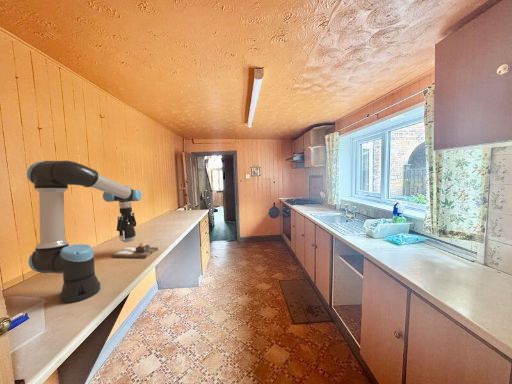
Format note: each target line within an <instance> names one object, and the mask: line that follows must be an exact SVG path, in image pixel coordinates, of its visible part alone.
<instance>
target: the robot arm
mask: <svg viewBox="0 0 512 384" xmlns="http://www.w3.org/2000/svg"><path fill="white" fill-rule="evenodd" d="M26 176H27V179H28V180H29V181H30V183H31V184H33V186H34V190H35V191H37V192H38V195H39V196H38V198H39V200H38V201H39V203H38V204H39V205H38V206H39V243H38V244H37V245H36V246H35V250H34V251H32V252H31V254H30V255H29V258H28V266H29V267H30V269H31V270H32V271H34V272H37V273H41V274H61V275H62V278H63V279H62V280H63V283H62V288H61V291H60V294H59V301H60V302H61V303H64V304H70V303H77V302H80V301H83V300H87V299H88V298H91V297H94V296H95V295H96V294H98V293H99V292H100V290H101V283H100V281H99V279H98V277H97V275H96V272H95V268H96V267H95V253H94V249H93V247H92V246H91V245H89V244H85V243H78V244H71V245H70V244H69V241H67V240H66V239H65V192H66V191H67V190H69V186H71V185H72V186H80V187H84V188H93V189H95V190H99V191H101V192H103V194H102V199H103V200H104V201H105V202H107V203H113V202H118V207H119V214H121V215H120V216H117V225H116V231H117V232H119V233H118V235H119V234H120V238H119V239H120V241H121V240H125V237H124V231H123V229H124V226H125V222H126V221H130V222H134V223H133V224H132V225H133V227H134V229H136V226H137V221H136V218H135V212H133V207H132V202H139V201H141V200H142V197H143V196H142V195H143V193H142V191H141V190H140V189H132V188H131V186H130V185H123V184H122V183H119V182H116V181H114V180H112V179H110V178H108V177H105V176H104V175H101V174H99V172H98V171H97V170H95V169H93V168H91V167H88V166H86V165H84V164H81V163H78V162H75V161H72V160H44V161H37V162H34V163H32V164H31V165H30V166H29V167H28V169H27V171H26Z"/></svg>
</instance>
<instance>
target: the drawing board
mask: <svg viewBox="0 0 512 384" xmlns="http://www.w3.org/2000/svg"><path fill="white" fill-rule="evenodd" d="M157 250H158V251H159V247H158V246H155V247H154V246H153V247H152V246H151V245H150V244H146V247H144V248H140V246H125V247H124V248H122V249H120V250H118V251H115V252H114V253H112V254H111V255H110V256H111V259H145V258H146V259H147V258H149V257H150V256H152V255H153V254H155V253H156V252H158V251H157ZM155 251H156V252H155ZM154 252H155V253H154ZM152 253H153V254H152ZM151 254H152V255H151ZM148 256H149V257H148Z"/></svg>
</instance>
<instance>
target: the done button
mask: <svg viewBox="0 0 512 384" xmlns="http://www.w3.org/2000/svg"><path fill="white" fill-rule="evenodd" d="M138 245H139V246H140V248H144V247H146V245H147V244H146V242H141V243H139V244H138Z"/></svg>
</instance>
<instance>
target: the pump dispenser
mask: <svg viewBox="0 0 512 384" xmlns="http://www.w3.org/2000/svg"><path fill="white" fill-rule="evenodd" d="M133 223H134V222H130V221H128V220H127V221H126V222H125V226H124V229H123V231H124V237H125V240H120V241H121V242H122V243H130V242H133V241H134V240H135V239H136V236H137V234H136V233H137V232H136V230H135V229H136V228H135V229H134V227H133V225H132V224H133ZM118 235H119V236H118V237H119V239H120V234H119V233H118Z"/></svg>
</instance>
